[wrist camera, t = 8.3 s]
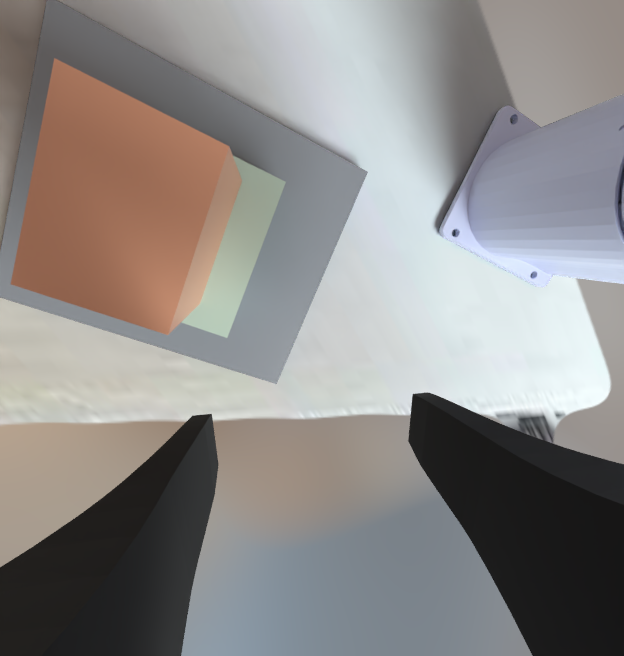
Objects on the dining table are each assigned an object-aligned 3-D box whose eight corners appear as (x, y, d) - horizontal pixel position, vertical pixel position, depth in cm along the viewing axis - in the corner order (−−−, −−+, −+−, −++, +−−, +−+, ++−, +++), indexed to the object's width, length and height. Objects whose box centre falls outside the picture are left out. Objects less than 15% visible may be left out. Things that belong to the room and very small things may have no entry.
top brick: (242, 180, 13) (229, 146, 8) (200, 303, 14) (167, 335, 10) (137, 130, 12) (54, 58, 7) (101, 268, 13) (10, 284, 8)
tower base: (362, 175, 17) (388, 157, 14) (275, 377, 20) (278, 408, 17) (62, 12, 13) (-16, -77, 10) (8, 291, 16) (-70, 307, 13)
